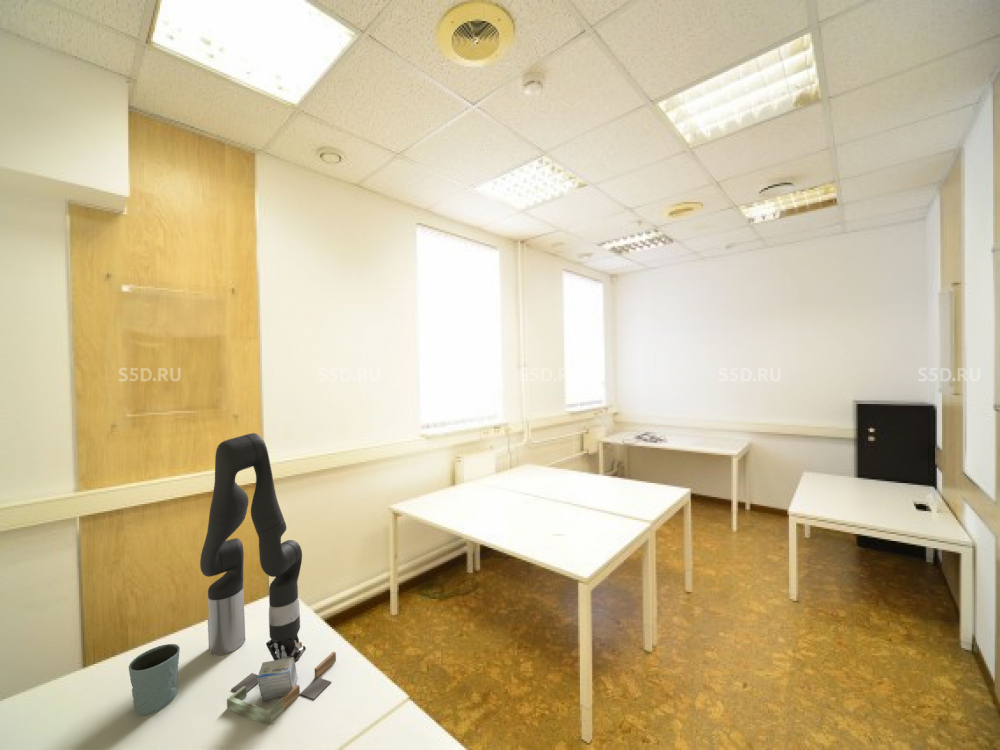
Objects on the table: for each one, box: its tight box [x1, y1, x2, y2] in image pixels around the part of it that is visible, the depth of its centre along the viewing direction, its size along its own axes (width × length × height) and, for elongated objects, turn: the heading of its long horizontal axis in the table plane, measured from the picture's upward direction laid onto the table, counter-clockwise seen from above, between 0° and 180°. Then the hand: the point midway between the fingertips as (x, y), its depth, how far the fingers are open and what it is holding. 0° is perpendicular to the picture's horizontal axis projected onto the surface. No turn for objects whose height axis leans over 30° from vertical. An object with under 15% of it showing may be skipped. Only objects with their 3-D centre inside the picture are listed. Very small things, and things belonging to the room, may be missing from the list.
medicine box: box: [257, 657, 299, 702], centre depth 105 cm, size 8×4×9 cm, turn 104°
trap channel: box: [226, 641, 337, 726], centre depth 109 cm, size 24×22×2 cm
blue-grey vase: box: [128, 643, 181, 717], centre depth 104 cm, size 10×10×12 cm
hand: (286, 677), depth 110 cm, fingers closed
